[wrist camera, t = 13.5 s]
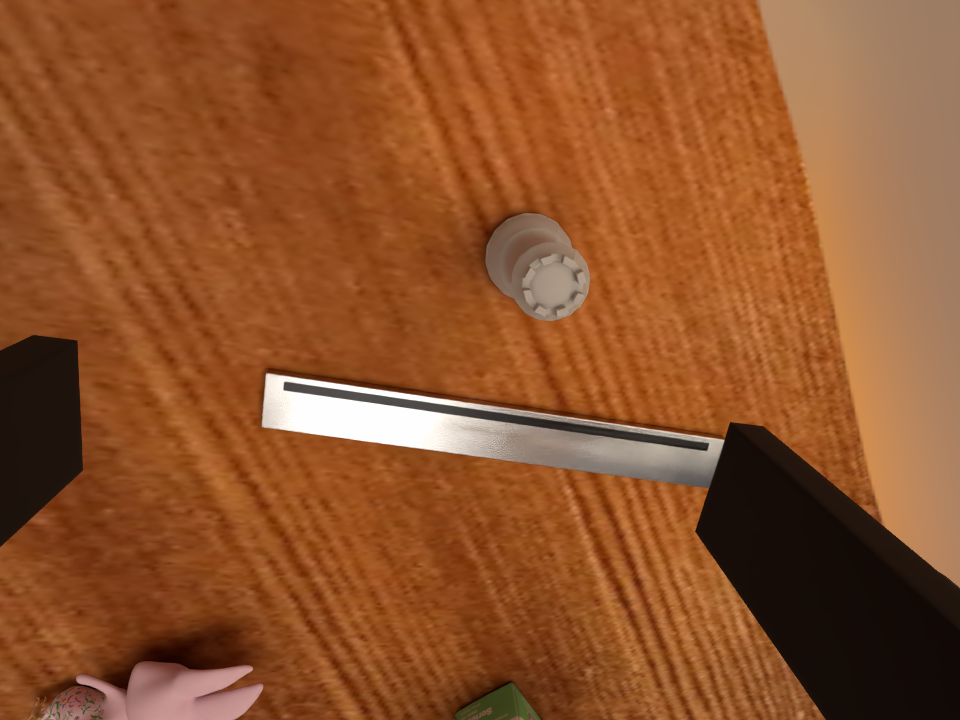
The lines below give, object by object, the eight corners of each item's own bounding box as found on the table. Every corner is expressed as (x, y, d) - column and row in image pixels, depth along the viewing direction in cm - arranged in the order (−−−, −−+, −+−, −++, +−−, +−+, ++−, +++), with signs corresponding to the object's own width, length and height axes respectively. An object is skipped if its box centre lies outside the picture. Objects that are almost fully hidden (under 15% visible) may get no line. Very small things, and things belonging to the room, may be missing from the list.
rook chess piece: (521, 193, 31) (548, 205, 23) (587, 248, 32) (634, 277, 24) (466, 263, 32) (475, 296, 24) (532, 314, 33) (560, 362, 25)
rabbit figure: (95, 726, 41) (291, 690, 38) (26, 820, 36) (249, 786, 33) (44, 657, 39) (246, 614, 36) (-38, 745, 34) (193, 703, 31)
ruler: (263, 422, 34) (260, 427, 33) (268, 368, 33) (265, 372, 32) (707, 483, 37) (711, 489, 36) (723, 435, 36) (727, 440, 35)
